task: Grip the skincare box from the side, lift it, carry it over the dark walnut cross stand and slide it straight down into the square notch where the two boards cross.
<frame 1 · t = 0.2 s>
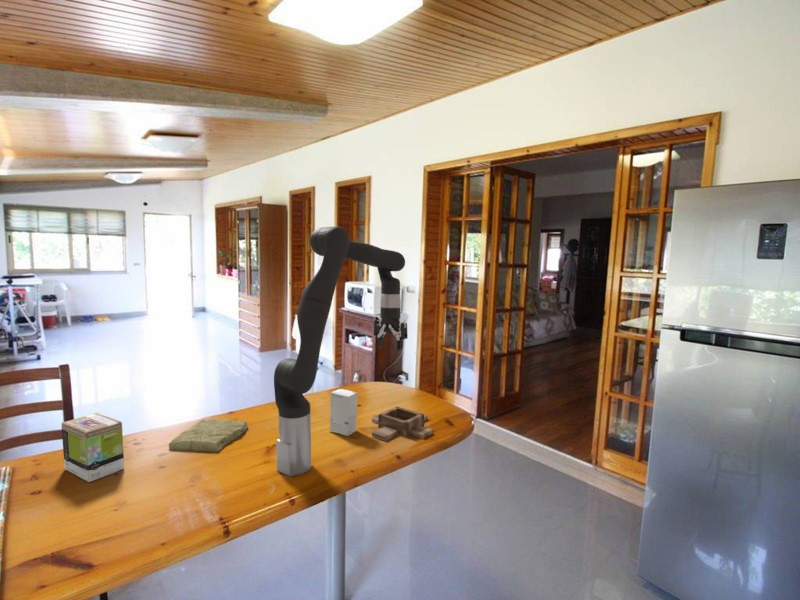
hand: (390, 348, 161), 29 cm above the table, fingers open, 8 cm apart
cross stand: (401, 427, 160), on the table
skincare box: (343, 431, 156), on the table
tea box: (94, 469, 128), on the table
decorative tile: (211, 439, 150), on the table
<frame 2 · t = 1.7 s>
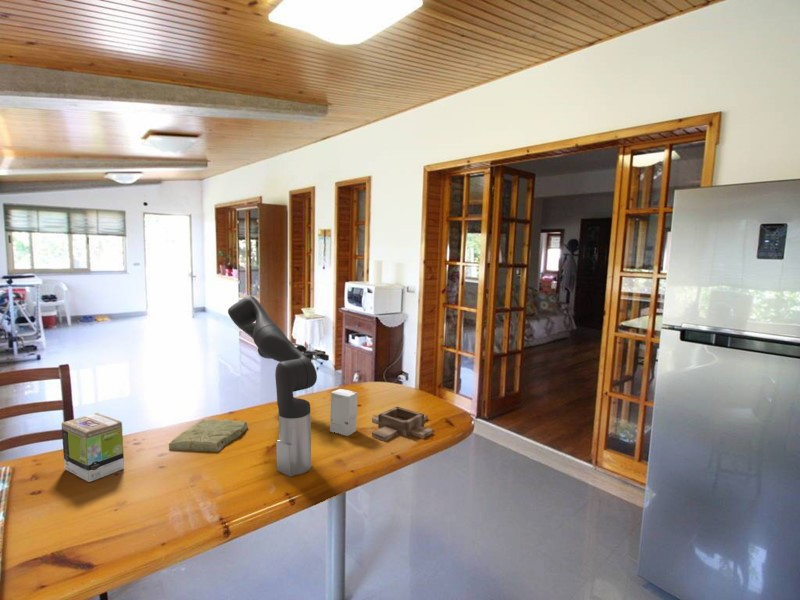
hand: (319, 360, 162), 24 cm above the table, fingers open, 8 cm apart
nothing on the table moved.
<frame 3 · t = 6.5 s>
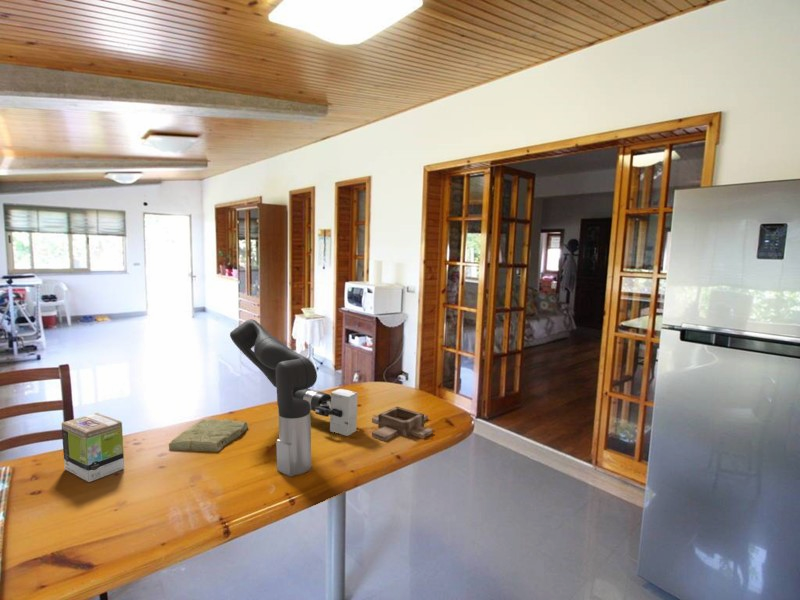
hand: (348, 411, 154), 8 cm above the table, fingers closed on skincare box, 6 cm apart
skincare box: (344, 431, 156), on the table, touching gripper
everything else where it was.
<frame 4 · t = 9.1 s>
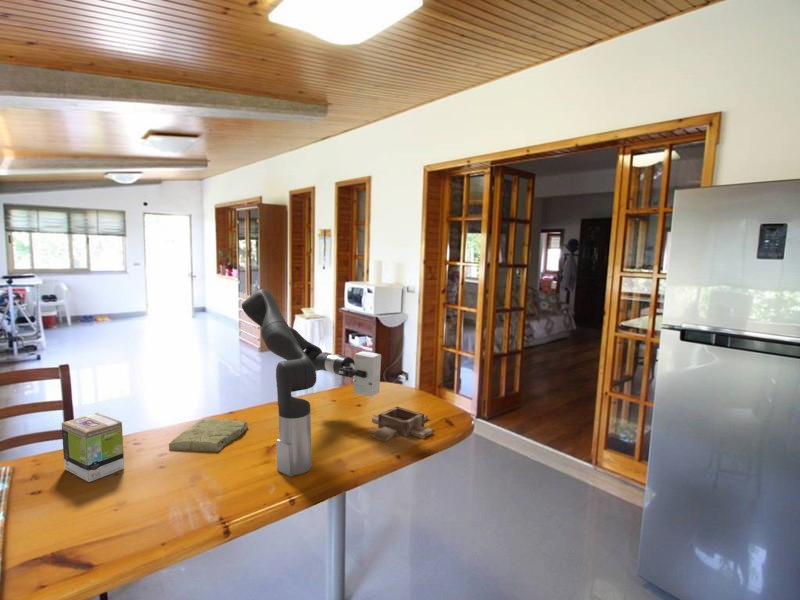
hand: (372, 372, 154), 22 cm above the table, fingers closed on skincare box, 6 cm apart
skincare box: (367, 393, 157), point 14 cm above the table, touching gripper
everything else where it was.
when the fingers open (11 cm above the table, at t = 12.1 s): skincare box drops 1 cm, resting on cross stand.
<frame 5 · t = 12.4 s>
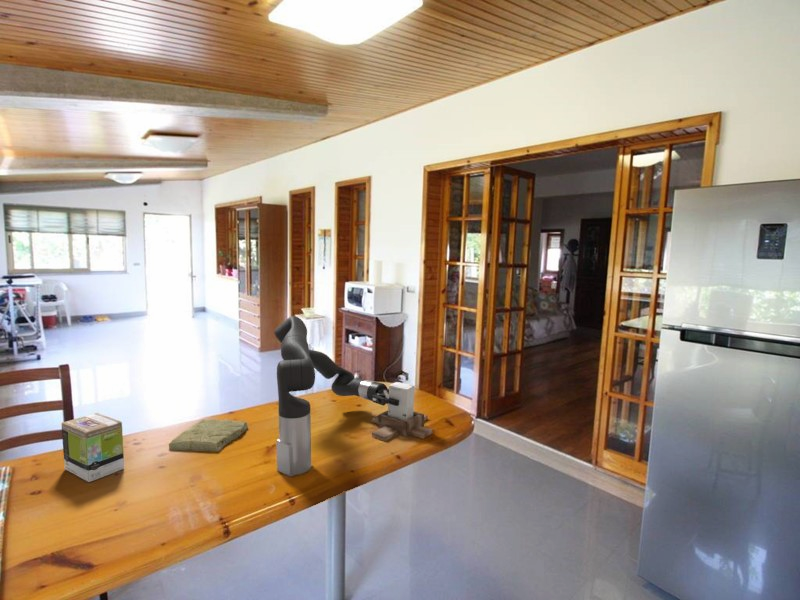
hand: (405, 399, 157), 11 cm above the table, fingers open, 8 cm apart
skincare box: (400, 424, 160), point 1 cm above the table, touching cross stand
everything else where it was.
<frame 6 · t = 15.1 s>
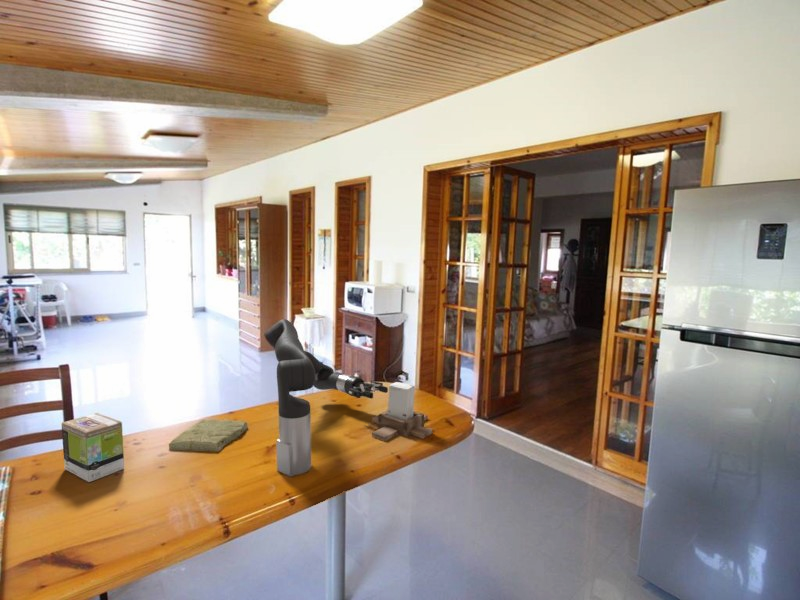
hand: (380, 392, 165), 11 cm above the table, fingers open, 8 cm apart
nothing on the table moved.
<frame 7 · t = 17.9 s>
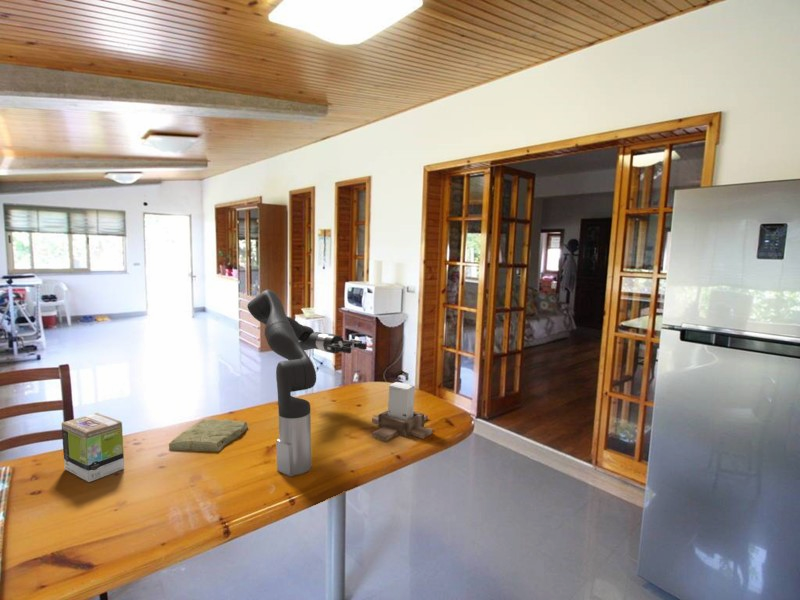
hand: (358, 348, 165), 28 cm above the table, fingers open, 8 cm apart
nothing on the table moved.
at the end: skincare box 0.1 cm off-centre on the cross stand, point 1.3 cm above the cross stand's base; skincare box tilted 0°; the gripper is holding nothing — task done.
